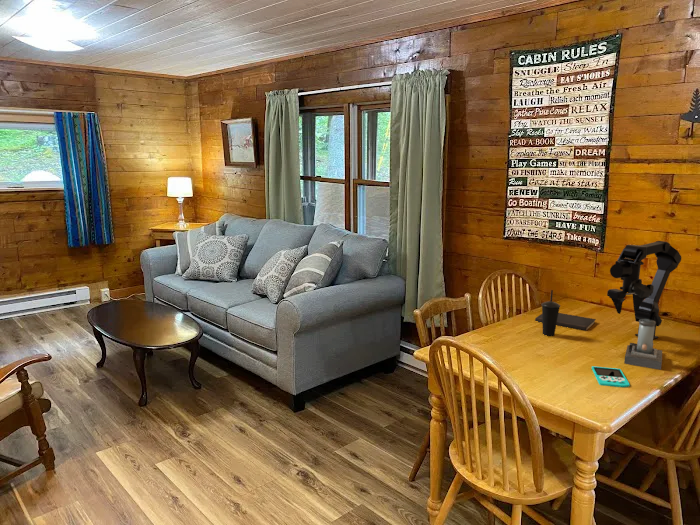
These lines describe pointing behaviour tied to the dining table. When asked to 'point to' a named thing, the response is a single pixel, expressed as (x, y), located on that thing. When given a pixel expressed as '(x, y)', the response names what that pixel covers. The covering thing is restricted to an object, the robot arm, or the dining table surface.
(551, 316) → the drinking cup
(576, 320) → the hardcover book
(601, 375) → the handheld game console
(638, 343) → the grey capped cylinder
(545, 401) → the dining table surface
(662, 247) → the robot arm
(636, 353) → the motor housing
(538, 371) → the dining table surface
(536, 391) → the dining table surface
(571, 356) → the dining table surface
